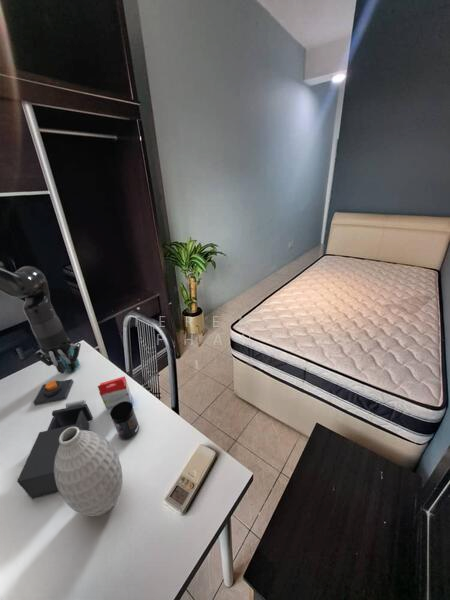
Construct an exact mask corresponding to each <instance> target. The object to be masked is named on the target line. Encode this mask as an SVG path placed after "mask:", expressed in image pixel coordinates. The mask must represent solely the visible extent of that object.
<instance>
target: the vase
mask: <svg viewBox="0 0 450 600" xmlns="http://www.w3.org/2000/svg"><path fill="white" fill-rule="evenodd" d="M59 443H60V445H59V448H58V450H57V453H56V456H55V461H54V477H55V482H56V485H57V488H58V491H59V492H58V493H59V494H60V496H61V497H62V499H63V500H64V502H65V503H66V504H67V505H68V506H69V507H70V508H71V509H72V510H73V511H75V512H76V513H78V514H80V515H83V516H87V517H99V516H101V515H104V514H106V513H107V512H109V511H110V510H111V509H112V508H113V507H114V506H115V505H116V503H117V502H118V500H119V498H120V496H121V492H122V488H123V477H124V476H123V470H122V469H123V468H122V464H121V461H120V458H119V456H118V453H117V452H116V450H115V448H114V446H113V445H112V443H111V442H110V441H109V440H108V439H107V438H105V437H104V435H101V434H100V433H98V432H95V431H93V430H87V431H86V430H80V429H79V428H78V427H70V428H68V429H66V430H65V431H63V432H62V434H61V435H60V437H59Z"/></svg>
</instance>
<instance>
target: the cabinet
mask: <svg viewBox="0 0 450 600" xmlns="http://www.w3.org/2000/svg"><path fill="white" fill-rule="evenodd" d="M70 427H78V428H79V429H80V430H84V428H83V426H82V424H81V423H79V424H74V425H70V426H65V427H61V428H56V429H52V430H48V429H47V430H44V431H43V430H42V431H40V432H38V435H37V437H36V439H35V441H34V442H33V445H32V448H31V449H30V452H29V454H28V457H27V458H26V460H25V463H24V465H23V467H22V469H21V472H20V474H19V476H18V478H17V480H16V482H17V484H19V486H20V487H21V488H22V489H23V490H24V491H25V493H26V494H27V495H28V496H29V497H30V499H31V500H35V499H38V498H43V497H45V496H49V495H54V494H57V493H60V492H59V491H58V488H57V485H56V482H55V477H54V461H55V456H56V453H57V450H58V448H59V445H60V443H59V437H60V435H61V434H62V432H63V431H65V430H66V429H68V428H70Z"/></svg>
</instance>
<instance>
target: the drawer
mask: <svg viewBox="0 0 450 600" xmlns="http://www.w3.org/2000/svg"><path fill="white" fill-rule="evenodd" d="M51 415H52V418H51V420H50V422H49V425H48V427H47V430H52V429H56V428H61V427H65V426H70V425H74V424H79V423H81V424H82V426H83V428H84V430H86V431H88V430H89V427H90V423H89V422H92V421H93V419H94V416H93V414H92V411H91V410H90V408H89V406H88V403H87V400H86V399H81V400H78V401H73V402H68V403H65V407H64V408H59V409H55V410H52V412H51Z"/></svg>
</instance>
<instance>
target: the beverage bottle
mask: <svg viewBox="0 0 450 600" xmlns="http://www.w3.org/2000/svg"><path fill="white" fill-rule="evenodd" d="M68 340H69V341H70V338H69V337H68ZM69 350H70V352H71V355H72V356H73V354H74V351H73V350H72V348H71V347H70V349H69ZM59 357H60V362H61V361H62V363H63V365H64V367H65V372H71V371H70V368H69V366H68V363H67V362H66V360H64V359H63V358H62V356H59ZM74 362H75V364H76V368H75V370H76V369H77V368H78V367H79V366H80V361H79V358H77V360H76V361H74Z"/></svg>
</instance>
